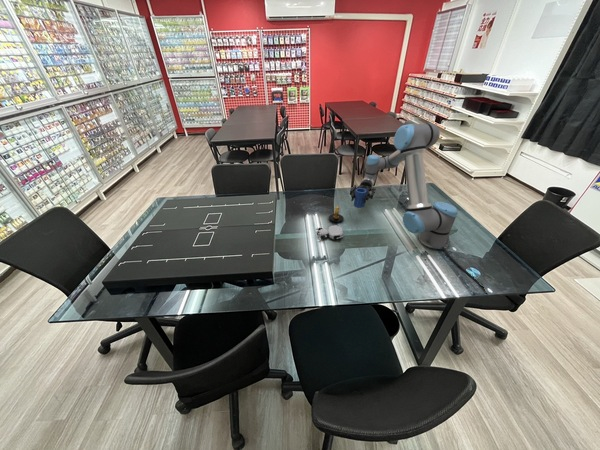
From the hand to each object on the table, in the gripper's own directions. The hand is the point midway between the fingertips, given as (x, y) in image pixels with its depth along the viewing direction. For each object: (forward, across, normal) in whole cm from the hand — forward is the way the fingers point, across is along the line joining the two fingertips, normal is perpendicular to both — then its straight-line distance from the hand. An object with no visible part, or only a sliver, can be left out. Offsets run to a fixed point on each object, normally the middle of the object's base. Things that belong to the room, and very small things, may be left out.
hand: (358, 200), depth 142 cm
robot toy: (+16, +11, -18) cm, 27 cm away
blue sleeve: (-5, 0, -6) cm, 8 cm away
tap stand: (-3, +13, -18) cm, 22 cm away
